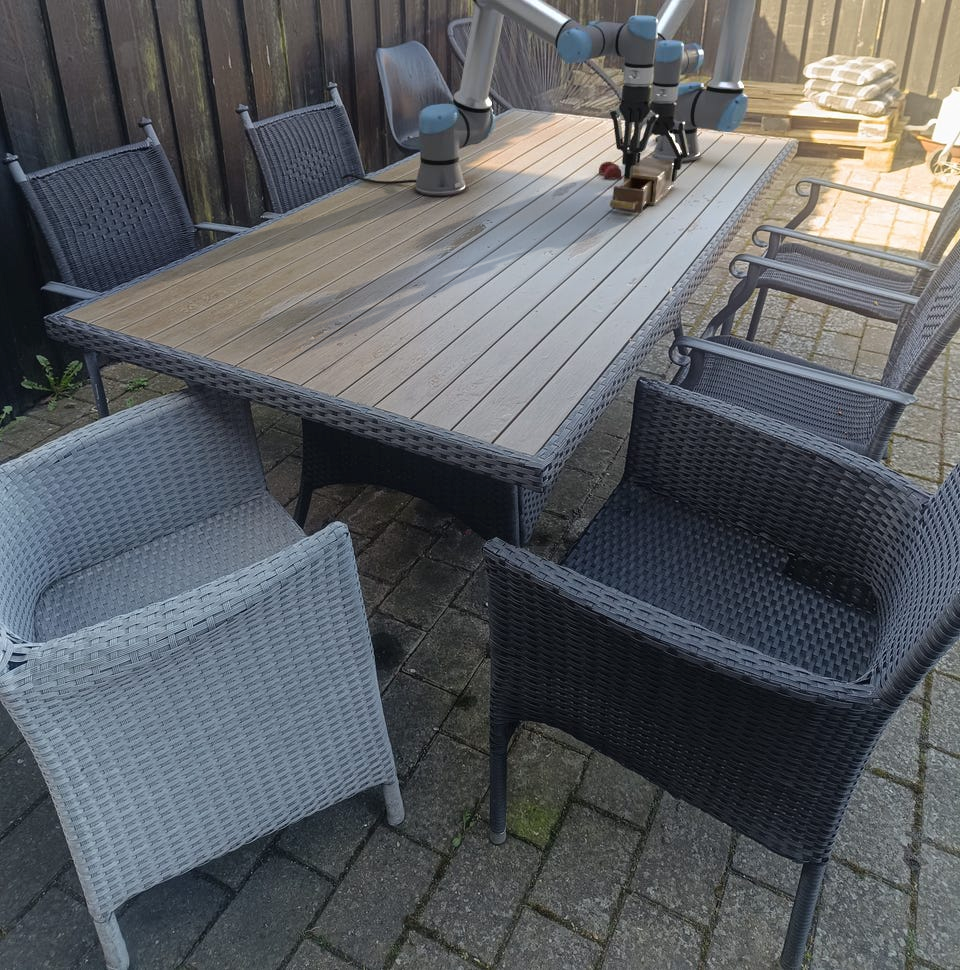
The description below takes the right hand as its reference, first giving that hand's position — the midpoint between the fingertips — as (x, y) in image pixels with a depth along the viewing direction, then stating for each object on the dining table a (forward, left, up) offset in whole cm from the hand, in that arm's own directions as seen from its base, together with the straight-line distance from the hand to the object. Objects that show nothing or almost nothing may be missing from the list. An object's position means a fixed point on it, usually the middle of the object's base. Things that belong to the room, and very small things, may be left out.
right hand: (654, 178), depth 257 cm
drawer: (+20, -2, -2) cm, 20 cm away
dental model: (-9, -16, -3) cm, 19 cm away
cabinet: (+6, -1, -3) cm, 6 cm away
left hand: (+28, -3, +7) cm, 29 cm away
